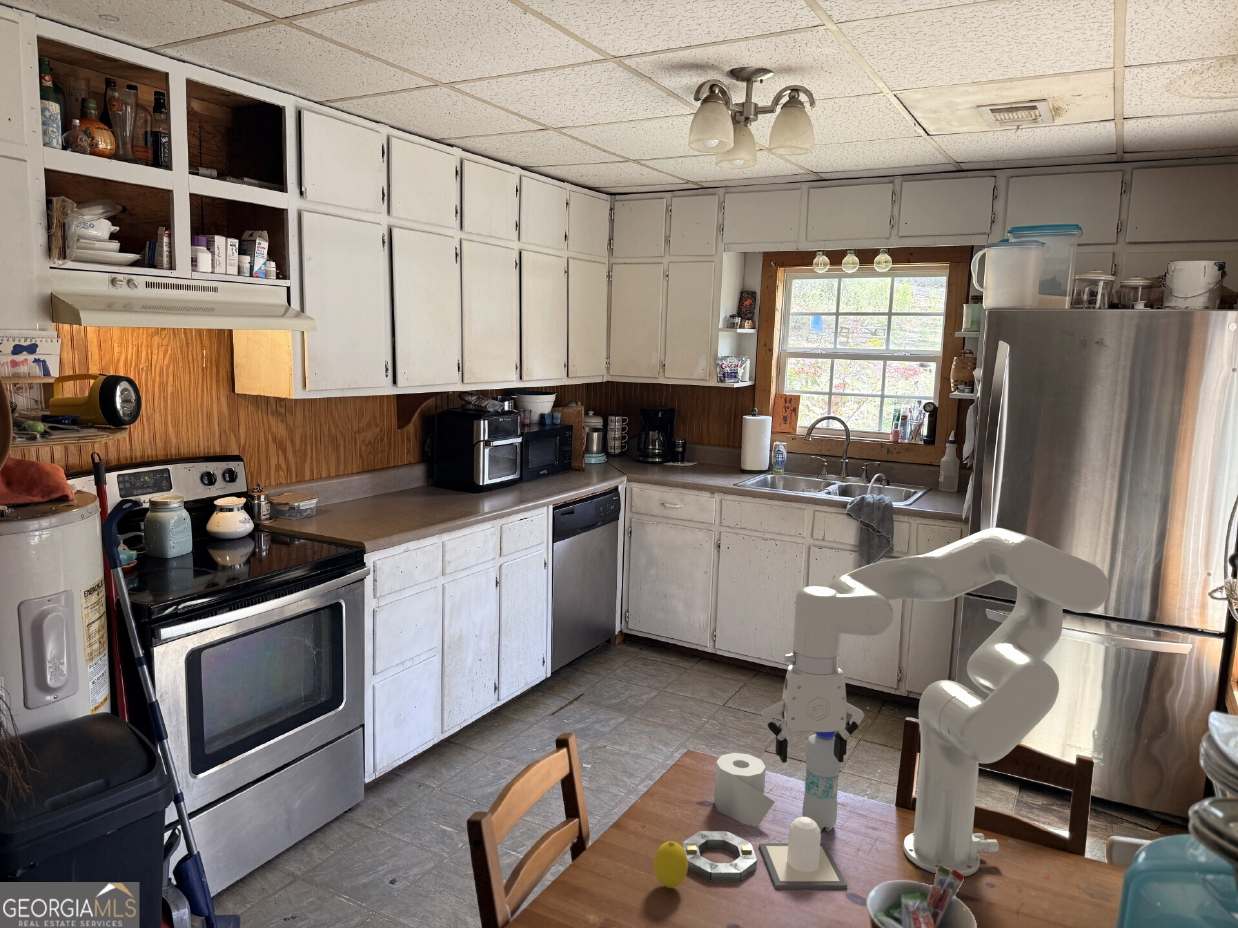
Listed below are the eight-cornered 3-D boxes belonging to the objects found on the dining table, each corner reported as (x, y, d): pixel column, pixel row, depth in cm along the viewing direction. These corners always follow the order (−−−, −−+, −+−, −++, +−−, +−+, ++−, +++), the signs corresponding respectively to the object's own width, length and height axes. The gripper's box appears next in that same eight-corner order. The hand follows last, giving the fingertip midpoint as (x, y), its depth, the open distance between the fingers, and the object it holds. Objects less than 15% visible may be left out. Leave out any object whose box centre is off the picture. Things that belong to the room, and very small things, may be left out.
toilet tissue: (761, 832, 151) (764, 788, 150) (704, 804, 160) (707, 762, 160) (788, 815, 158) (791, 772, 157) (732, 788, 167) (735, 748, 166)
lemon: (676, 902, 130) (679, 855, 129) (646, 890, 133) (648, 843, 132) (692, 884, 135) (694, 839, 134) (663, 873, 138) (665, 828, 137)
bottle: (838, 837, 151) (845, 733, 148) (800, 832, 152) (807, 728, 150) (836, 818, 157) (843, 718, 155) (800, 813, 158) (806, 713, 156)
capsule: (795, 873, 138) (798, 828, 137) (781, 855, 143) (784, 811, 142) (824, 869, 139) (827, 825, 138) (809, 851, 144) (812, 808, 143)
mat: (824, 846, 147) (825, 842, 147) (847, 888, 136) (847, 884, 135) (759, 846, 147) (759, 842, 147) (775, 888, 135) (775, 884, 135)
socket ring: (746, 839, 149) (746, 828, 148) (761, 881, 137) (762, 868, 136) (679, 839, 148) (679, 827, 148) (688, 881, 136) (689, 868, 136)
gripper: (769, 669, 133) (765, 769, 135) (874, 669, 134) (868, 769, 136) (759, 653, 140) (755, 748, 142) (858, 653, 141) (852, 748, 143)
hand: (810, 758), depth 139 cm, fingers open, 9 cm apart
